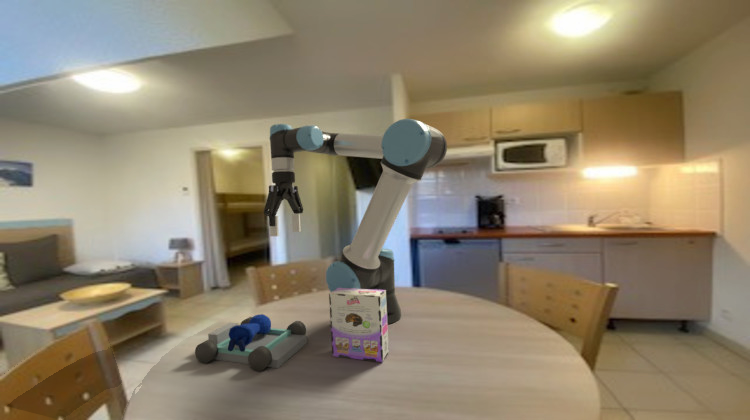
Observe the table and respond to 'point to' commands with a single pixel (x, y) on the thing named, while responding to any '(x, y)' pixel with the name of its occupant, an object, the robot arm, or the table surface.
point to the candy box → (359, 323)
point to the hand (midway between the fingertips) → (286, 233)
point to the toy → (248, 331)
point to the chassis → (254, 346)
